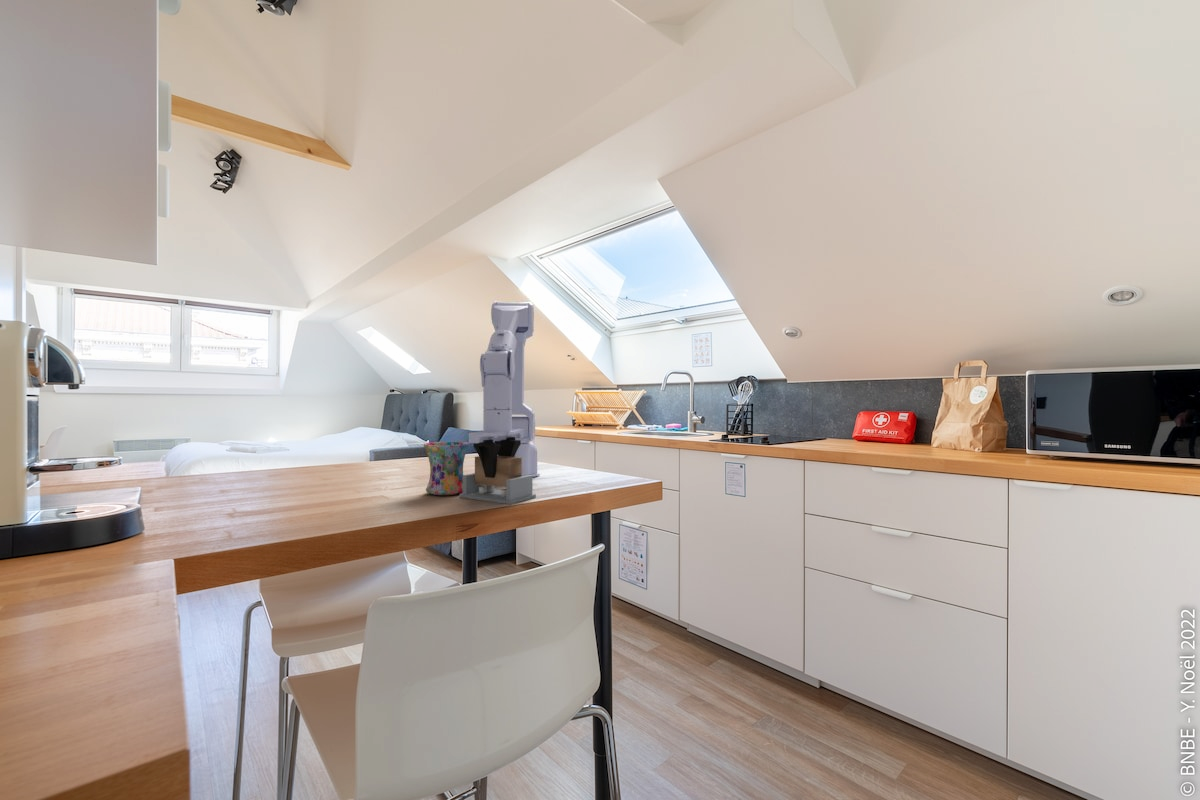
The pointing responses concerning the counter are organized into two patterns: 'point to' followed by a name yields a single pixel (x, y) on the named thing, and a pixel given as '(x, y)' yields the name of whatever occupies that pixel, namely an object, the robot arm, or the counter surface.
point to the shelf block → (499, 471)
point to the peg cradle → (513, 493)
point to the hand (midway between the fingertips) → (497, 475)
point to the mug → (446, 467)
